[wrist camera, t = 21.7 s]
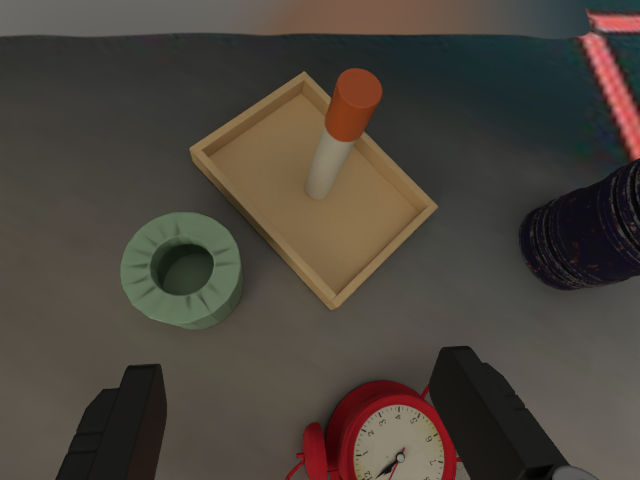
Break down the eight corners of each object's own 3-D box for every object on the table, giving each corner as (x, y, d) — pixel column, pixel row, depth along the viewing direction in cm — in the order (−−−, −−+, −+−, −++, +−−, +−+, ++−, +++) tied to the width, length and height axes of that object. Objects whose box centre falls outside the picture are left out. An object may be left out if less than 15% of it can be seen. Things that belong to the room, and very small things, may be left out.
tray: (192, 161, 35) (188, 148, 33) (301, 87, 40) (304, 70, 38) (330, 311, 34) (337, 308, 31) (426, 215, 39) (438, 206, 36)
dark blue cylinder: (534, 190, 42) (726, 84, 25) (605, 235, 42) (844, 160, 25) (505, 260, 39) (705, 193, 22) (583, 309, 39) (841, 280, 22)
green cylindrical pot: (133, 283, 31) (94, 261, 23) (205, 227, 34) (192, 190, 26) (191, 349, 31) (171, 349, 23) (260, 287, 33) (263, 268, 25)
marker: (296, 186, 36) (327, 82, 22) (317, 169, 37) (359, 59, 23) (316, 207, 36) (360, 116, 22) (337, 189, 37) (392, 91, 23)
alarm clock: (496, 479, 29) (348, 634, 22) (443, 465, 34) (310, 585, 27) (433, 355, 31) (277, 459, 23) (392, 360, 36) (255, 446, 29)
